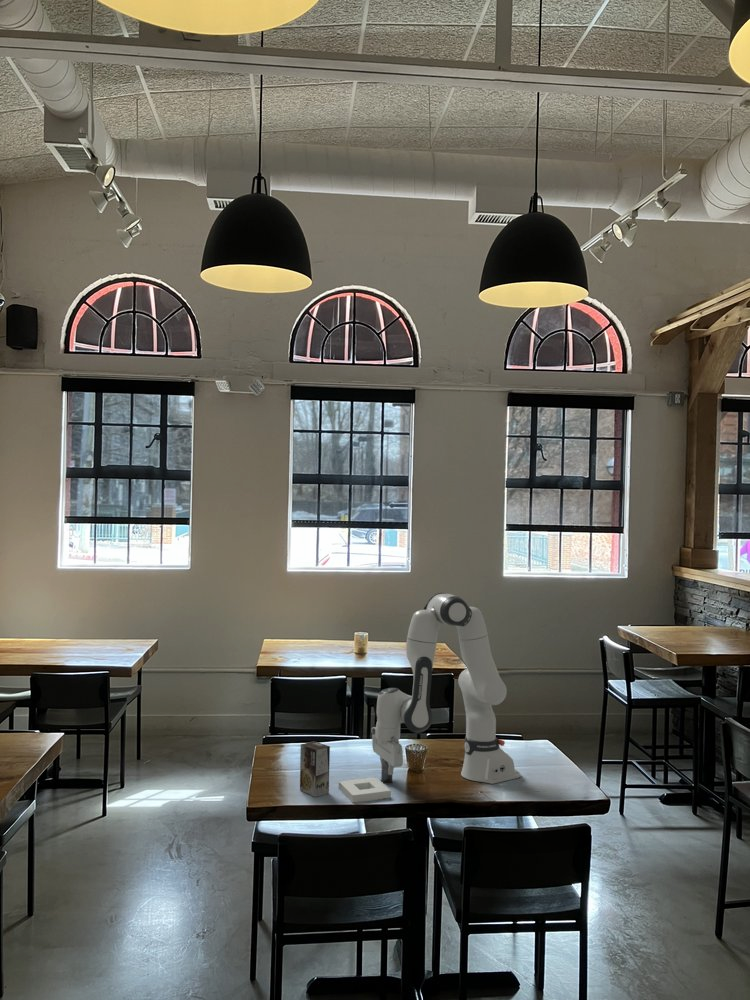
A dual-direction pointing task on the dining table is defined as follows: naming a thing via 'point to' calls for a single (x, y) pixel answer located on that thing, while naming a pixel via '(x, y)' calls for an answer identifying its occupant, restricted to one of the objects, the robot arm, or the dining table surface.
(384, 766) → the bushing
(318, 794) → the coffee box
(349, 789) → the plate
